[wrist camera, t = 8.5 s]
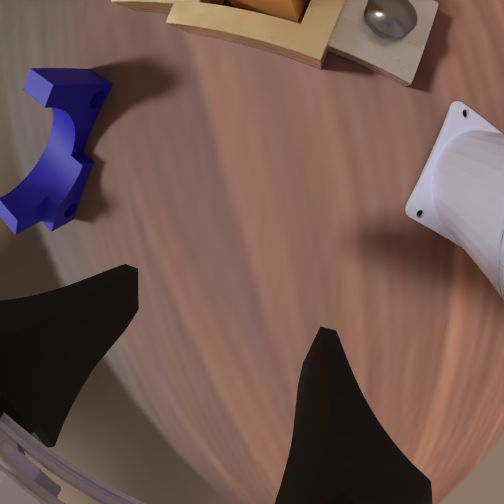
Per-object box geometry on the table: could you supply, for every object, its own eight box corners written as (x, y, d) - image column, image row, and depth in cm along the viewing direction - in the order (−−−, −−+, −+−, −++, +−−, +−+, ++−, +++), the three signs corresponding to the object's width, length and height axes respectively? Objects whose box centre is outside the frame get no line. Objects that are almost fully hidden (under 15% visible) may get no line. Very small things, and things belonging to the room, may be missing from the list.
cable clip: (74, 218, 23) (26, 247, 18) (45, 190, 23) (-3, 213, 17) (127, 93, 17) (66, 94, 12) (90, 69, 17) (30, 68, 12)
